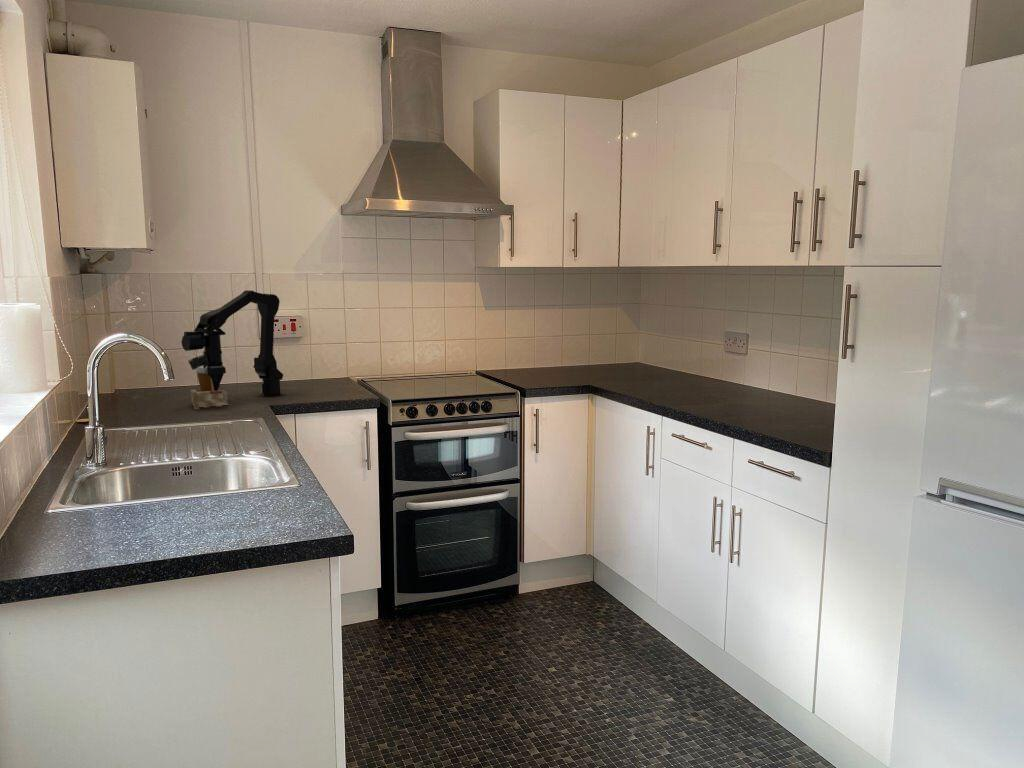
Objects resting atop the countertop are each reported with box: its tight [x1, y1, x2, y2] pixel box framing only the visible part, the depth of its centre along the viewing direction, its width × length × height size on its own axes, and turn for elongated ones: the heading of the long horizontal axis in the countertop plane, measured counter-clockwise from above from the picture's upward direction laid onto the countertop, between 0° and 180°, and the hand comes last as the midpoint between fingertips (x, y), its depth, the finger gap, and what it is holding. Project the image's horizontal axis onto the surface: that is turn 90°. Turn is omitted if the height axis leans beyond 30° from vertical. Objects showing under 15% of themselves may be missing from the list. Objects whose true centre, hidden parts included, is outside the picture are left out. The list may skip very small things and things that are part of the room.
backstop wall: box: [190, 389, 200, 410], centre depth 277 cm, size 2×13×5 cm, turn 27°
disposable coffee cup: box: [195, 365, 221, 392], centre depth 295 cm, size 10×10×12 cm
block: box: [196, 389, 229, 408], centre depth 280 cm, size 10×8×4 cm
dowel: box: [211, 380, 219, 394], centre depth 280 cm, size 3×3×8 cm
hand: (215, 389), depth 280 cm, fingers closed on dowel, 2 cm apart
